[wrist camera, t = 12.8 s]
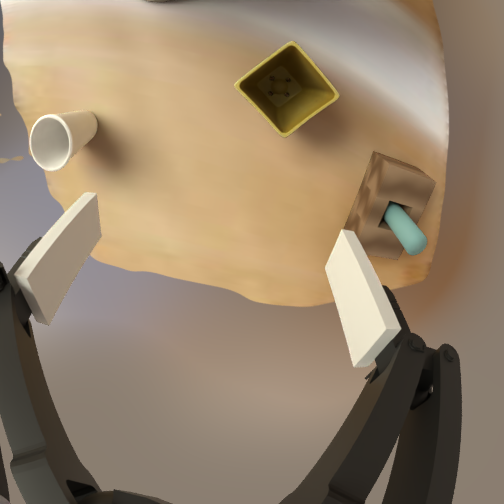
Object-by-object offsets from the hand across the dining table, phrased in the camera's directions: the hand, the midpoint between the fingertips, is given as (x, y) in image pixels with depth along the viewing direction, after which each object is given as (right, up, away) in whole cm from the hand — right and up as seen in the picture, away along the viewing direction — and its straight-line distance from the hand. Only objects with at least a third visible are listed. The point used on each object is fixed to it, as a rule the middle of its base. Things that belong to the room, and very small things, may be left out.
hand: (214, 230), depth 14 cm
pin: (+25, +7, +29) cm, 39 cm away
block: (+25, +8, +30) cm, 40 cm away
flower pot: (+6, +22, +20) cm, 30 cm away
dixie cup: (-25, +20, +21) cm, 38 cm away
